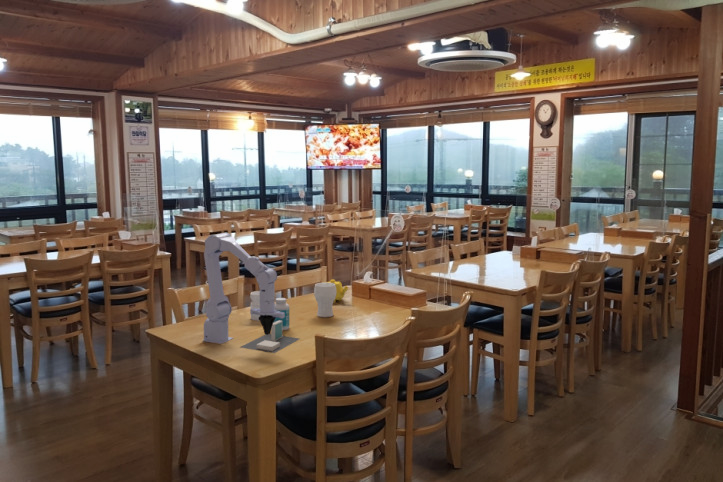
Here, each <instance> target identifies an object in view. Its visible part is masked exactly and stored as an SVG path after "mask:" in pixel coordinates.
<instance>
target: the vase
mask: <svg viewBox="0 0 723 482" xmlns="http://www.w3.org/2000/svg"><path fill="white" fill-rule="evenodd" d="M249 296H250V300H251V301H250V306H249V307H250V309H253V308H254V309H260V290H256V291H251V292H250V295H249ZM259 317H260V315H257V314H250V319H251V321H252V320H253V321H259V322H260V320H259Z"/></svg>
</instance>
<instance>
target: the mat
mask: <svg viewBox="0 0 723 482" xmlns="http://www.w3.org/2000/svg"><path fill="white" fill-rule="evenodd" d="M264 340H267V341H271V333H270V334H268V335H266V334H265V333H264V334H263V335H261V336H260V337H258V338H255V339H254V340H252V341H249V342H247V343H245V344H243V345H241V346H240V348H242V349H249V350H254V351H259V352H265V353H270V354H271V353H273V354H276V353H278V352H279V351H281V350H283V349H285V348H286V347H288V346H290V345H292V344H293V343H295V342H297V341H299V340H301V338H298V337H294V336H293V337H292V336H286V335H282V338H280V339H278V340H276V341H273V342H280V347H278V348H276V349H275V350H273V351H269V350H263V349H257V344H258V343H260V342H262V341H264Z"/></svg>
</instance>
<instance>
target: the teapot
mask: <svg viewBox="0 0 723 482" xmlns="http://www.w3.org/2000/svg"><path fill="white" fill-rule="evenodd" d="M327 283H334V284H335V286H336V297H335V299H334V301H333V304H335V303H337V302H336V301H339V302H340V301H343V300H342V299H343V298H344V297H345V295H346V292H347V291H348V290H349V287H348V285H345V286H344V287H343V283H342V282H341V281H336V279H330V281H327Z"/></svg>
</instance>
